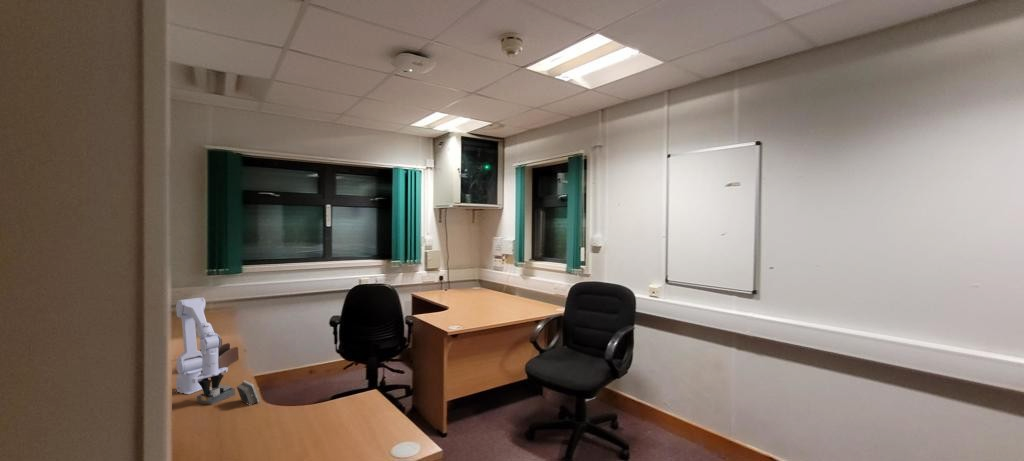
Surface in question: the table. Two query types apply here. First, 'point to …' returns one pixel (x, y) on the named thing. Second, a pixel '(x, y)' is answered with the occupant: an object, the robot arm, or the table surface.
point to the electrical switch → (248, 393)
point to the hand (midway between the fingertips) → (210, 393)
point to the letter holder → (226, 355)
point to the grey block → (213, 392)
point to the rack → (224, 393)
